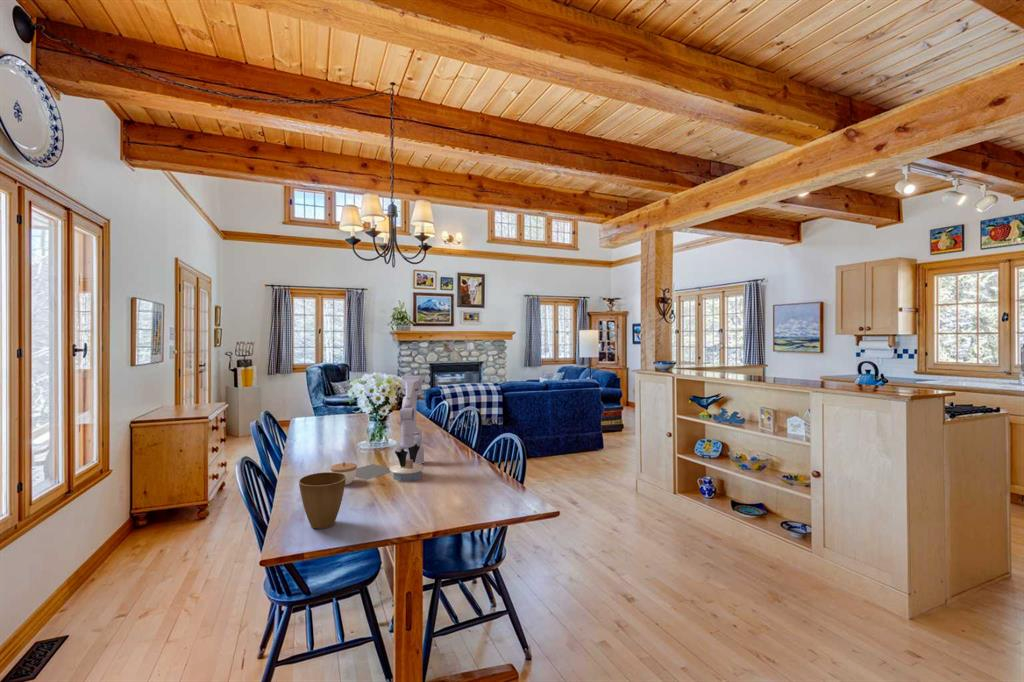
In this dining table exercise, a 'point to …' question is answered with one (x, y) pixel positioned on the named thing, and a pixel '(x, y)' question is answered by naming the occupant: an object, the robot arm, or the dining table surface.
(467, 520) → the dining table surface
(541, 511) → the dining table surface
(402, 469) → the cover
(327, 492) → the plant pot
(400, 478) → the bowl
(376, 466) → the mat
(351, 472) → the lidded jar
